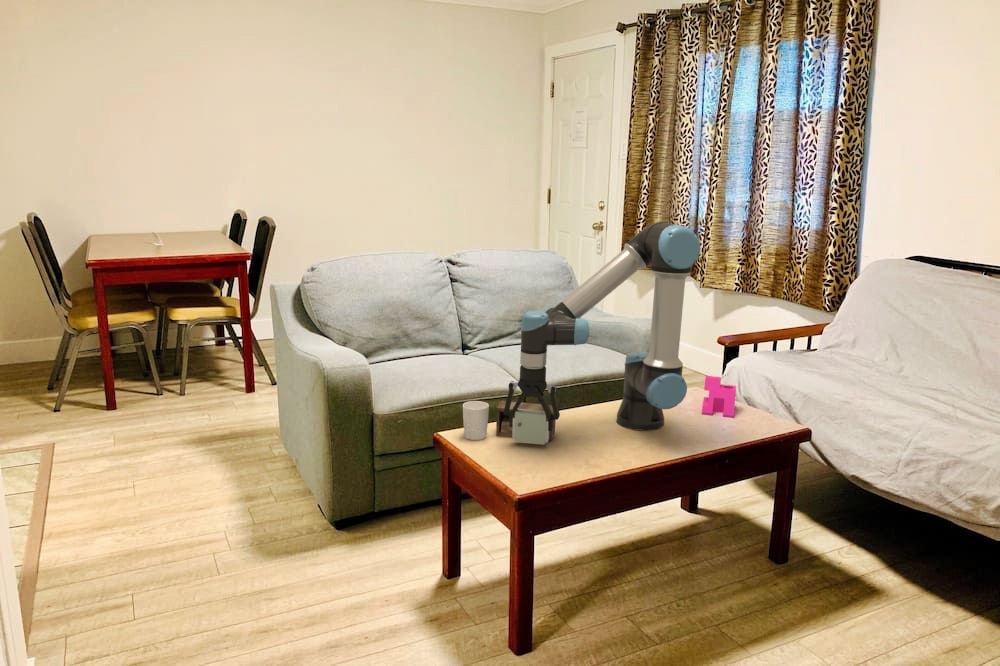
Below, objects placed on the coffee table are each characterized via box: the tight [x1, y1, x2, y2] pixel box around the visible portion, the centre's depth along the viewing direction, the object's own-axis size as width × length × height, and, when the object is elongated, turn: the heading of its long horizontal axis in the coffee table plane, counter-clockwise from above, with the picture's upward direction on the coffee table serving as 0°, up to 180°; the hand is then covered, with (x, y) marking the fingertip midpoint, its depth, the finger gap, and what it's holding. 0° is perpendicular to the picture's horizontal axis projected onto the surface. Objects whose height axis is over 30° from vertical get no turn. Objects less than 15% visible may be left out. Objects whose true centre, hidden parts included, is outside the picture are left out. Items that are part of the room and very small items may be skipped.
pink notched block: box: [701, 375, 737, 419], centre depth 258 cm, size 12×10×10 cm
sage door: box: [513, 409, 547, 445], centre depth 224 cm, size 9×4×9 cm, turn 77°
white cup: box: [462, 400, 490, 441], centre depth 231 cm, size 8×8×10 cm
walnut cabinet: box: [495, 400, 557, 442], centre depth 232 cm, size 17×10×9 cm, turn 77°
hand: (530, 439), depth 225 cm, fingers closed on sage door, 9 cm apart
